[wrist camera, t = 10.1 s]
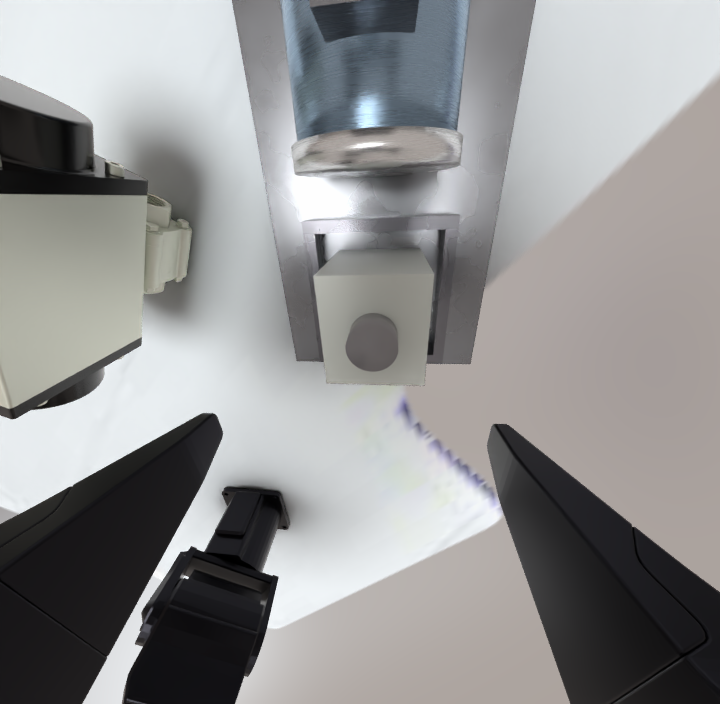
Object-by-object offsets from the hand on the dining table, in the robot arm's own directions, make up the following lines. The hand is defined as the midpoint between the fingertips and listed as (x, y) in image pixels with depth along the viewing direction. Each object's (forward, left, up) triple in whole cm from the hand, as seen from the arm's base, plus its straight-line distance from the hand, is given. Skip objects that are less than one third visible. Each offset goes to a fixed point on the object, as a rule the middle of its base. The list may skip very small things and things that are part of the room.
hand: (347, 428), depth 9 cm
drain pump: (+2, -1, -10) cm, 10 cm away
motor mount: (+7, -1, -11) cm, 13 cm away
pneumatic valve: (+5, +13, -11) cm, 18 cm away
